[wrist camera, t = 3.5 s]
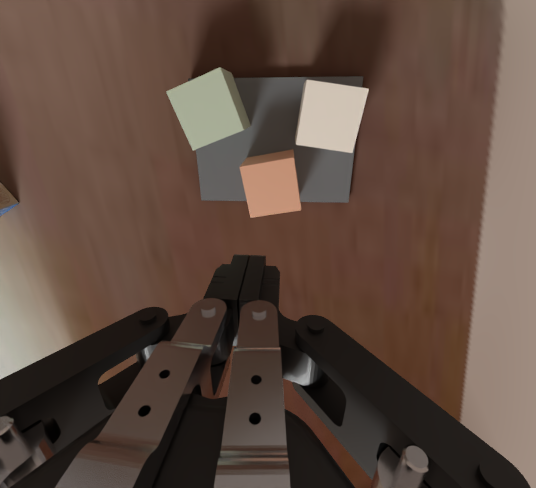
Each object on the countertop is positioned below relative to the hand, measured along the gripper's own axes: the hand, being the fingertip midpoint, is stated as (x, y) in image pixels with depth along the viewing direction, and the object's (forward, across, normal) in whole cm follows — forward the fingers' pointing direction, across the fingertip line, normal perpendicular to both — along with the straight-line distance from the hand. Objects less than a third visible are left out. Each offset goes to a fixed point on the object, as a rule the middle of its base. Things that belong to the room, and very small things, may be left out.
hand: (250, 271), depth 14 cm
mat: (+17, 0, -4) cm, 18 cm away
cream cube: (+17, -5, -6) cm, 18 cm away
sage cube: (+17, +5, -7) cm, 19 cm away
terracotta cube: (+17, 0, -1) cm, 17 cm away
